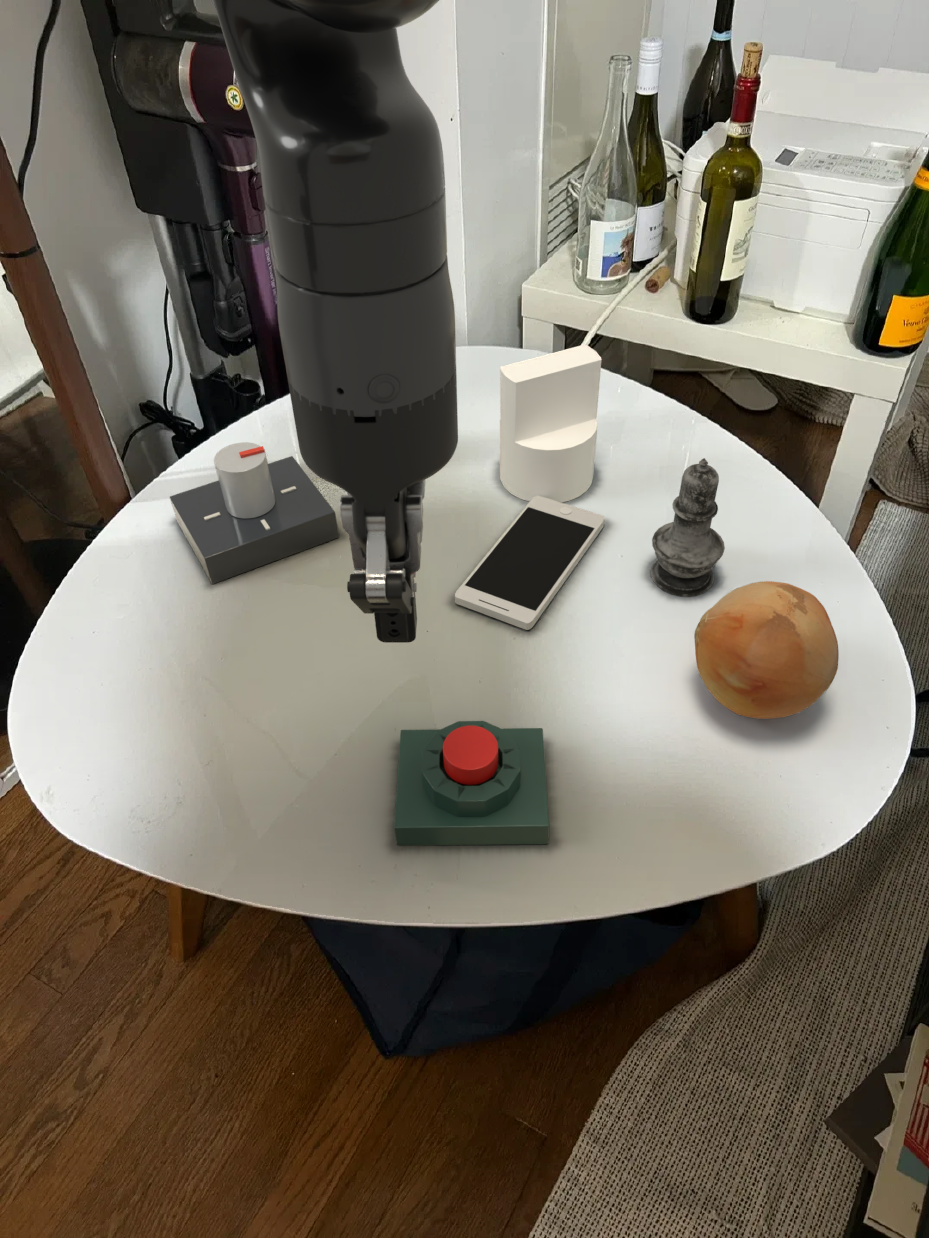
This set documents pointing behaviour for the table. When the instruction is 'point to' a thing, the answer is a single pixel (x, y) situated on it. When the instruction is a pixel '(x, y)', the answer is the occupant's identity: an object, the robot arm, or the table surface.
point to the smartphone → (530, 562)
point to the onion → (766, 650)
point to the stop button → (470, 755)
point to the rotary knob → (245, 480)
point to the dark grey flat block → (255, 523)
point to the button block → (471, 792)
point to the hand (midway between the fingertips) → (397, 633)
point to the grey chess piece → (689, 536)
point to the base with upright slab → (549, 424)
